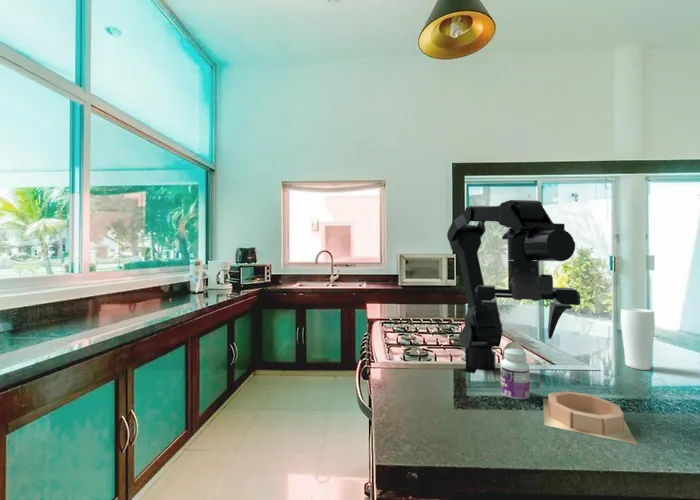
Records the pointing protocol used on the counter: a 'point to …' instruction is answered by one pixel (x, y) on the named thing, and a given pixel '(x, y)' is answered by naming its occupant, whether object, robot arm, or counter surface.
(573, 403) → the collar
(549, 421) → the board
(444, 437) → the counter surface
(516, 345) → the egg
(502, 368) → the pill bottle
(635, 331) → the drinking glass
